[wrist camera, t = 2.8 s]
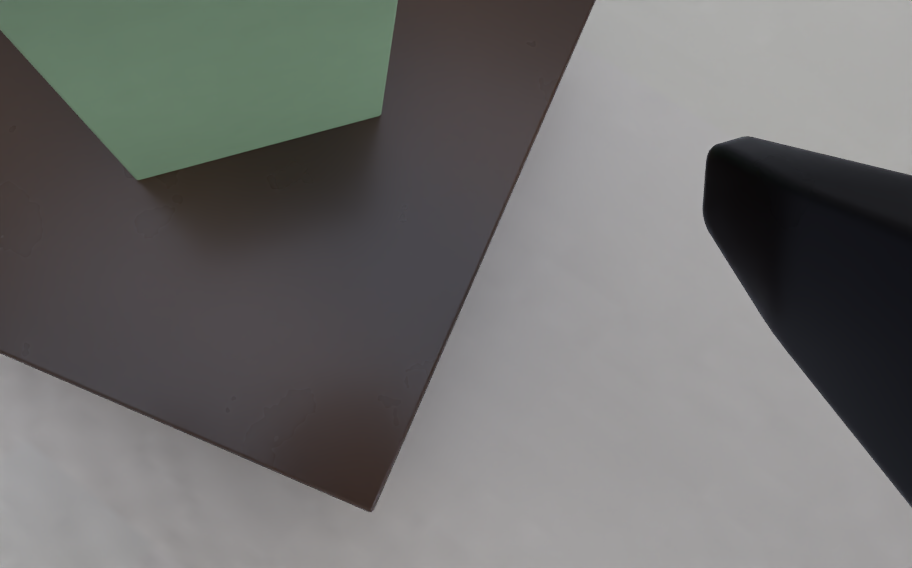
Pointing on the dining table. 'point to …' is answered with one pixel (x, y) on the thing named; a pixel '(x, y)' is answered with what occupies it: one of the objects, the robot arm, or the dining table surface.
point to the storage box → (280, 248)
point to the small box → (206, 70)
